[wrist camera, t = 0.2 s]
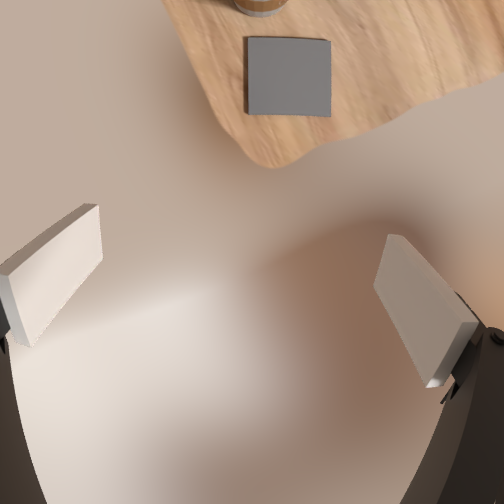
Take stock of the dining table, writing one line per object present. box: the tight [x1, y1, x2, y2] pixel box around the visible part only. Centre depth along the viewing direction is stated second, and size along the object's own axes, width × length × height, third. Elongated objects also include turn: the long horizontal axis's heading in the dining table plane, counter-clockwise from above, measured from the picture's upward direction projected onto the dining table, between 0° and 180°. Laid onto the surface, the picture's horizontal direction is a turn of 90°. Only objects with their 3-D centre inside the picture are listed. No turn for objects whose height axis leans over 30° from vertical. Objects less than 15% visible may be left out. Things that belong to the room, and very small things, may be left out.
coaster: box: [248, 37, 331, 117], centre depth 34 cm, size 10×10×1 cm
